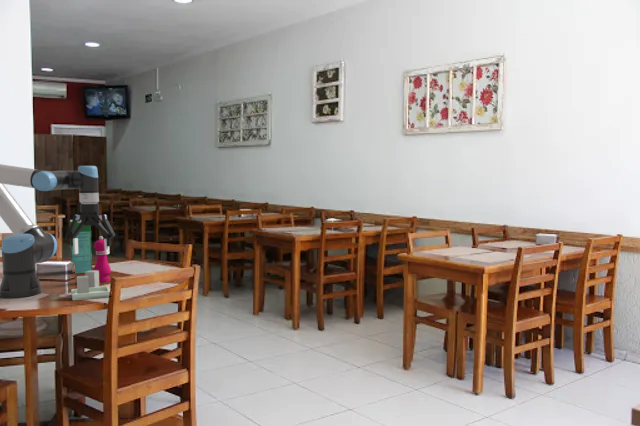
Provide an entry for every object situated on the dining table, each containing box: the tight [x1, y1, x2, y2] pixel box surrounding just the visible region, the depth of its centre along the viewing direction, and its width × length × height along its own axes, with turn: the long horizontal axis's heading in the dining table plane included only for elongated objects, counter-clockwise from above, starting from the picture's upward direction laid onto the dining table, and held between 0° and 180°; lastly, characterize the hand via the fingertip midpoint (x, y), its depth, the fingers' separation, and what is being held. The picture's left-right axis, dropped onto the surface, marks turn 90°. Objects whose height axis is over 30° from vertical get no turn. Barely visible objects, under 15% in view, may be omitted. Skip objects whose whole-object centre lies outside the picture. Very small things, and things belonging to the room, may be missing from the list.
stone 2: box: [84, 269, 100, 288], centre depth 249 cm, size 4×4×7 cm
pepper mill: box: [93, 235, 112, 283], centre depth 262 cm, size 7×7×20 cm
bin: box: [70, 285, 111, 301], centre depth 234 cm, size 14×11×2 cm
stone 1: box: [76, 275, 89, 294], centre depth 232 cm, size 4×4×7 cm
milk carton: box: [69, 219, 93, 274], centre depth 285 cm, size 9×9×25 cm
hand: (91, 254), depth 248 cm, fingers open, 13 cm apart
